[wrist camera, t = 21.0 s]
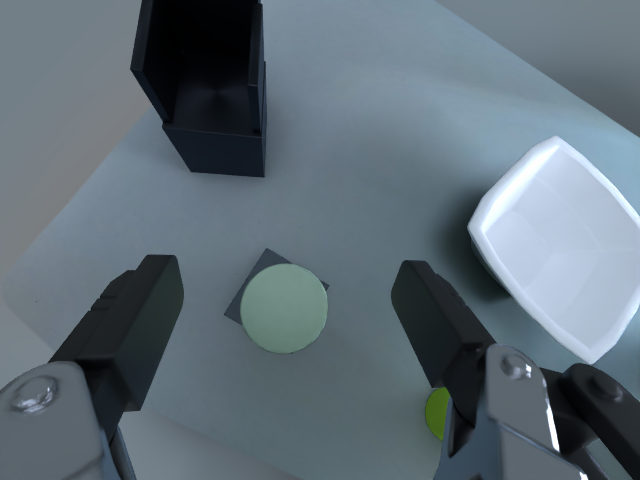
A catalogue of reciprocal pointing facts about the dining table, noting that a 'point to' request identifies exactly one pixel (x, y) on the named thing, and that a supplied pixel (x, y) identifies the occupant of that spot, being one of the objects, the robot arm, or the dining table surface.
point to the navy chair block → (206, 80)
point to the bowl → (562, 247)
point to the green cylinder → (284, 308)
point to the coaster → (265, 261)
